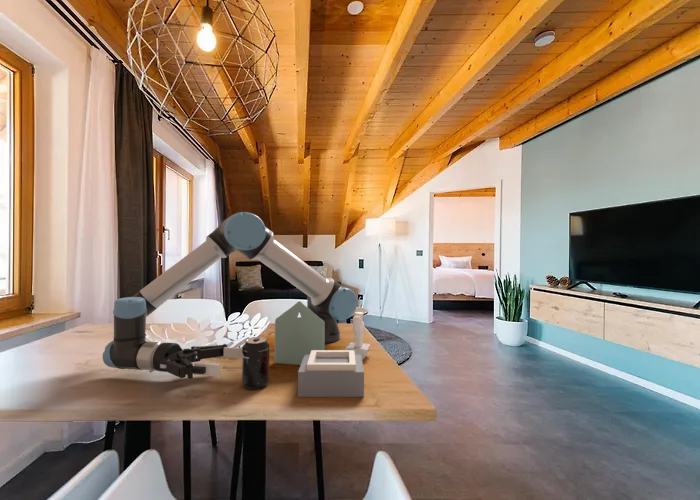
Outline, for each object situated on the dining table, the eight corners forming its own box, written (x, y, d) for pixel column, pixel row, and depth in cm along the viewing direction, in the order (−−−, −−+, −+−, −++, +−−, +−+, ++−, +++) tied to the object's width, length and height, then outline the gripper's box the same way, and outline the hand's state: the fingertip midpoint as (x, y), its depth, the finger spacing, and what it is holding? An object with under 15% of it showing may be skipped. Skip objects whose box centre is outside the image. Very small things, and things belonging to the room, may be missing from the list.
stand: (304, 375, 96) (304, 349, 96) (361, 375, 96) (361, 349, 96) (297, 396, 82) (298, 365, 82) (363, 396, 82) (364, 365, 82)
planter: (330, 359, 111) (331, 298, 111) (324, 367, 103) (324, 302, 103) (284, 355, 114) (284, 297, 114) (274, 362, 106) (274, 300, 107)
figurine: (371, 353, 117) (371, 310, 117) (366, 362, 108) (367, 315, 108) (351, 352, 118) (351, 309, 118) (344, 360, 109) (344, 314, 109)
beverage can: (271, 380, 92) (271, 336, 92) (266, 390, 85) (266, 343, 85) (245, 380, 92) (245, 336, 92) (238, 391, 85) (239, 343, 85)
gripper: (189, 356, 104) (254, 360, 101) (123, 388, 80) (205, 395, 76) (190, 332, 104) (254, 335, 101) (123, 356, 80) (205, 362, 76)
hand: (233, 361), depth 89 cm, fingers open, 13 cm apart
